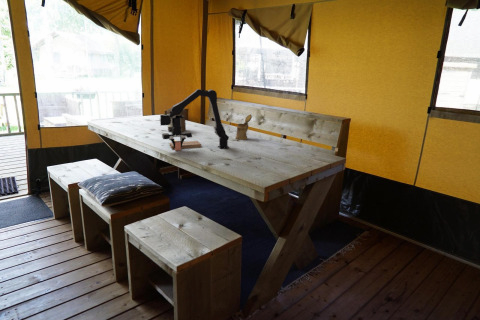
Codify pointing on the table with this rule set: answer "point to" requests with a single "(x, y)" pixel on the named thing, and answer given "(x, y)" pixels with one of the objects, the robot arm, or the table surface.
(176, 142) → the pink and yellow hammer
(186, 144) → the board
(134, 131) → the table surface
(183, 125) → the wooden container
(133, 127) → the table surface
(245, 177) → the table surface
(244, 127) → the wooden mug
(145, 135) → the table surface
